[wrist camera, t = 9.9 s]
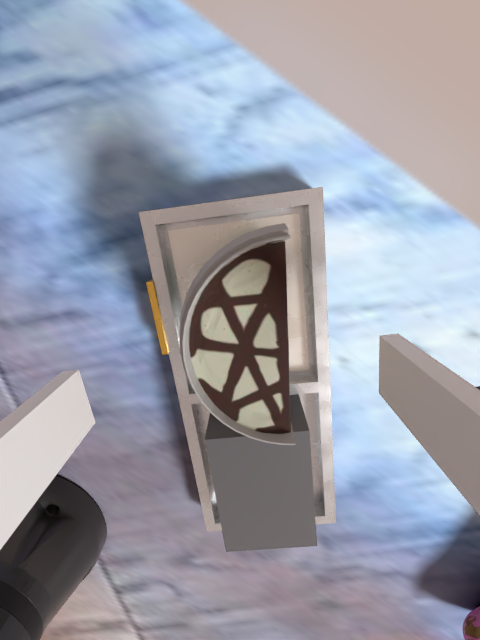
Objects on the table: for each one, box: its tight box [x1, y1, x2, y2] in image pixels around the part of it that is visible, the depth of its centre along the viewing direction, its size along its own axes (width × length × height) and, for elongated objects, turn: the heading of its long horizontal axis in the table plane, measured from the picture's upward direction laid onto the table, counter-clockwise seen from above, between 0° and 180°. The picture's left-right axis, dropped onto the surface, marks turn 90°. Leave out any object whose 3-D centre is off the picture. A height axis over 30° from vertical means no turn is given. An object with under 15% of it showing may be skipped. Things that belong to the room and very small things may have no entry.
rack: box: [139, 187, 336, 532], centre depth 27 cm, size 14×31×3 cm, turn 7°
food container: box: [179, 223, 295, 445], centre depth 20 cm, size 12×6×10 cm, turn 4°
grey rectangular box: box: [205, 395, 317, 552], centre depth 27 cm, size 8×12×5 cm, turn 7°
